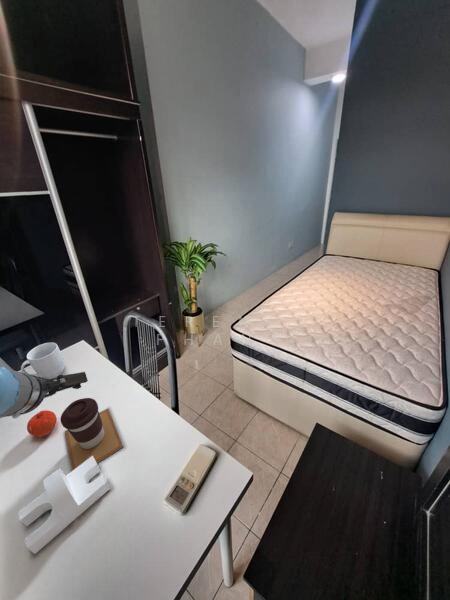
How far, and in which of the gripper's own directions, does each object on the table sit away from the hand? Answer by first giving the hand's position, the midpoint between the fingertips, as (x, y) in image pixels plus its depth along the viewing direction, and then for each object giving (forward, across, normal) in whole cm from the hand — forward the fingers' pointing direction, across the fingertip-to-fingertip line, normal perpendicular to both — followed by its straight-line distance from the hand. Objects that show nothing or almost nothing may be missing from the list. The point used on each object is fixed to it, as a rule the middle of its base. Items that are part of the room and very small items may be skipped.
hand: (48, 395), depth 65 cm
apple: (+29, -9, -8) cm, 32 cm away
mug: (+51, -8, +14) cm, 53 cm away
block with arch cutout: (+9, -4, -28) cm, 29 cm away
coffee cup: (+20, +4, -16) cm, 26 cm away
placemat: (+20, +4, -17) cm, 26 cm away
